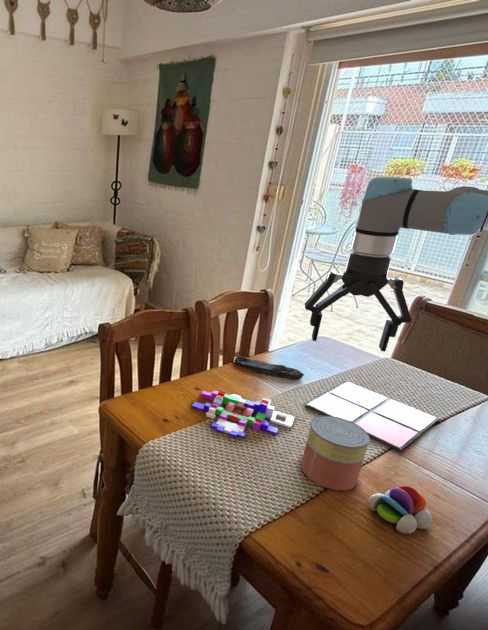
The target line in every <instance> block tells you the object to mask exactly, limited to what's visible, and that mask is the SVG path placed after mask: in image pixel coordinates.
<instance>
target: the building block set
mask: <svg viewBox="0 0 488 630" xmlns="http://www.w3.org/2000/svg"><path fill="white" fill-rule="evenodd" d="M200 397H201V398H204V399H207V400H211V401H212V403H209V402H205V403H201V402H199V401H194V402H193V404H192V405H191V408H192V409H194V410H198V411H200V412H205V417H206V418H208V419H213V420H214V419H216V417H217V416H219V417H218V418H217V421H216V422H215V421H212V423H211V425H210V428H212V429H215V431H216V432H218V433H220V434H223V433H225V434H228V435H229V437H232V438H235V439H237V437H238V438H241V439H244V438H245V437H246V432H244V431H245V429H246V427H247V426H250V427H252V429H253V430H256V431H261V430H262V431H263V432H266V433H269V434H272V435H275V436H277V434H278V431H279V428H278V427H275V426H272V425H270V423H273V424H276V425H279V426H282V427H286V428H289V429H292V426H293V423H294V421H295V416H293V415H289V414H287V413H283V412H280V411H277V410H275V409H276V408H275V407H276V406H273V405H272V400H270V399H267V398H264V397H263V398H262V399H261V402H260V401H257V400H255V401H252V400H249V399H244V398H243V397H242V396H241V395H239V394H235V393H233V394H228V393H227V392H225V391H223V390H219V391H217V390H213V391H212V392H209V391H206V390H202V391H201V393H200ZM222 405H226V406H225V408H224V407H223V406H222ZM235 409H239V410H241V411H242V410H243V412H242V414H238V413H235V412H234V411H235ZM253 414H255V417H254V416H253ZM277 417H280V418H284V419H285V420H284V421H283V420H279V419H277ZM266 418H268V419H270V420H269V421H267V420H265V419H266ZM228 420H230V421H228ZM232 421H234V422H237V423H238V424H237V423H234V422H232Z"/></svg>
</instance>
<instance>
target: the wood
mask: <svg viewBox="0 0 488 630" xmlns="http://www.w3.org/2000/svg"><path fill="white" fill-rule="evenodd" d="M230 363H231V364H234V365H236V366H238V367H241V368H244V369H249V370H250V372H252V373H254V374H259V375H260V374H261V375H264V376H268V377H272V378H280V379H285V380H290V381H298V380H301V379H302V378H303V377H304V376H305V374H304V373H303V372H302V371H300V370H298V369H297V368H294V367H289V366H286V365H285V364H278V363H277V364H275V363H269V362H266V361H262V360H258V359H253V358H250V357H246V356H237V357H235V358H234V359H233V361H231V362H230Z"/></svg>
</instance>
